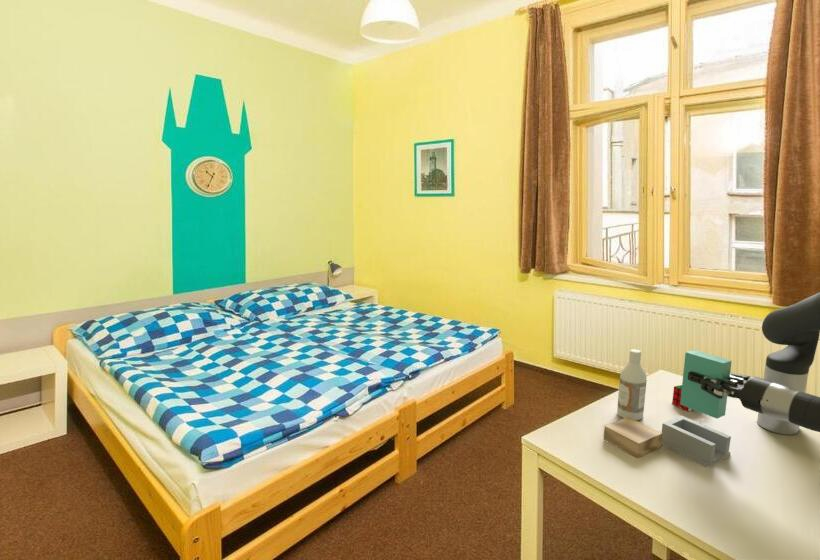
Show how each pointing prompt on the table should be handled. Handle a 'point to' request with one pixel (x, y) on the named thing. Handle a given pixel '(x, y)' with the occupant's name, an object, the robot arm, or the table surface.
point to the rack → (695, 441)
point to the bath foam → (632, 388)
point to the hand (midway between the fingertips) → (694, 373)
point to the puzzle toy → (679, 398)
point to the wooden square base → (632, 437)
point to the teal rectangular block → (692, 391)
